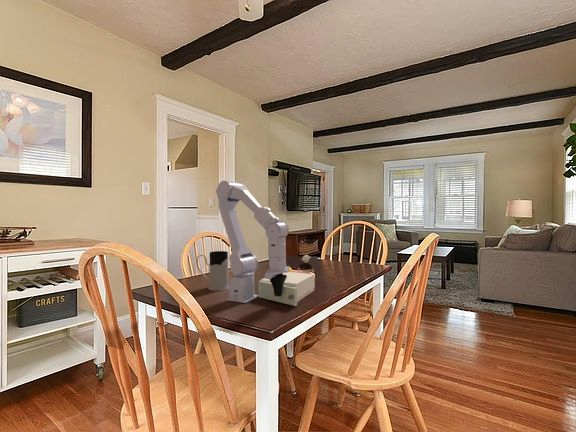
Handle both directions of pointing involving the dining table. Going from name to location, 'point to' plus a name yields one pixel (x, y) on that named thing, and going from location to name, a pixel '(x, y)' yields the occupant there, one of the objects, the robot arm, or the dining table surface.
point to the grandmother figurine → (306, 265)
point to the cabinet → (299, 283)
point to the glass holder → (217, 270)
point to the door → (286, 297)
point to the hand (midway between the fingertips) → (277, 295)
